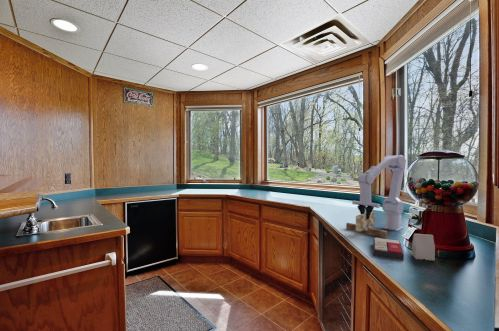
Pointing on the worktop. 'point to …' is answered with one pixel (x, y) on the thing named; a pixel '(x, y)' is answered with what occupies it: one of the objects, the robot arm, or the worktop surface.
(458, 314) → the worktop surface
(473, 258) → the worktop surface
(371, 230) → the walnut stand
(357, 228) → the cross piece
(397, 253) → the calculator
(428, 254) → the tea bag
